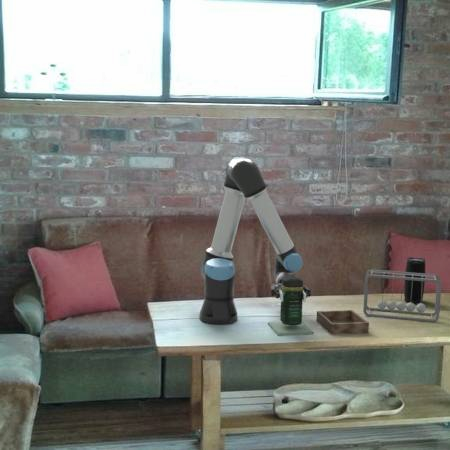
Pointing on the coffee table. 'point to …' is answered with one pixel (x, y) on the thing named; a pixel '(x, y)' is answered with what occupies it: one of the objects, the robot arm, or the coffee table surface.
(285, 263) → the robot arm
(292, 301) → the coffee jar
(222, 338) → the coffee table surface
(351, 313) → the walnut caddy
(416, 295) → the portable speaker
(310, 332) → the sage mat
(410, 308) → the newton's cradle
